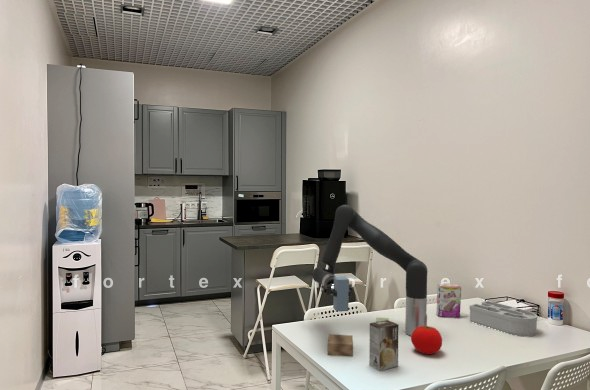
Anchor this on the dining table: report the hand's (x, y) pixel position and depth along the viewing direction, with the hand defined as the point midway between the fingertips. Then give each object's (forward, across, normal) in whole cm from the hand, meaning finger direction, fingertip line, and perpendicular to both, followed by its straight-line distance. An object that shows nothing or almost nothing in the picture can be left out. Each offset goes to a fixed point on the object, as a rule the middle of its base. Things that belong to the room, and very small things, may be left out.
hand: (342, 294), depth 170 cm
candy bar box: (-38, +69, +24) cm, 82 cm away
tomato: (+4, +35, +24) cm, 43 cm away
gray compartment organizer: (-19, +88, +24) cm, 93 cm away
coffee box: (+14, +12, +24) cm, 30 cm away
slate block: (-3, 0, +7) cm, 7 cm away
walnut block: (-2, 0, +24) cm, 24 cm away
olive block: (+1, +17, +24) cm, 29 cm away
